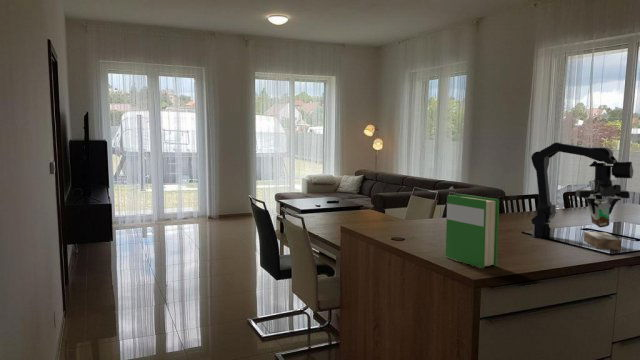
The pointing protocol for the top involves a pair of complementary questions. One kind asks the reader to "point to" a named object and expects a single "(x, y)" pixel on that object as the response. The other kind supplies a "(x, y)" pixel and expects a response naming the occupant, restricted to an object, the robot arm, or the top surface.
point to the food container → (601, 213)
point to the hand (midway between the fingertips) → (601, 214)
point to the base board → (602, 240)
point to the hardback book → (472, 229)
